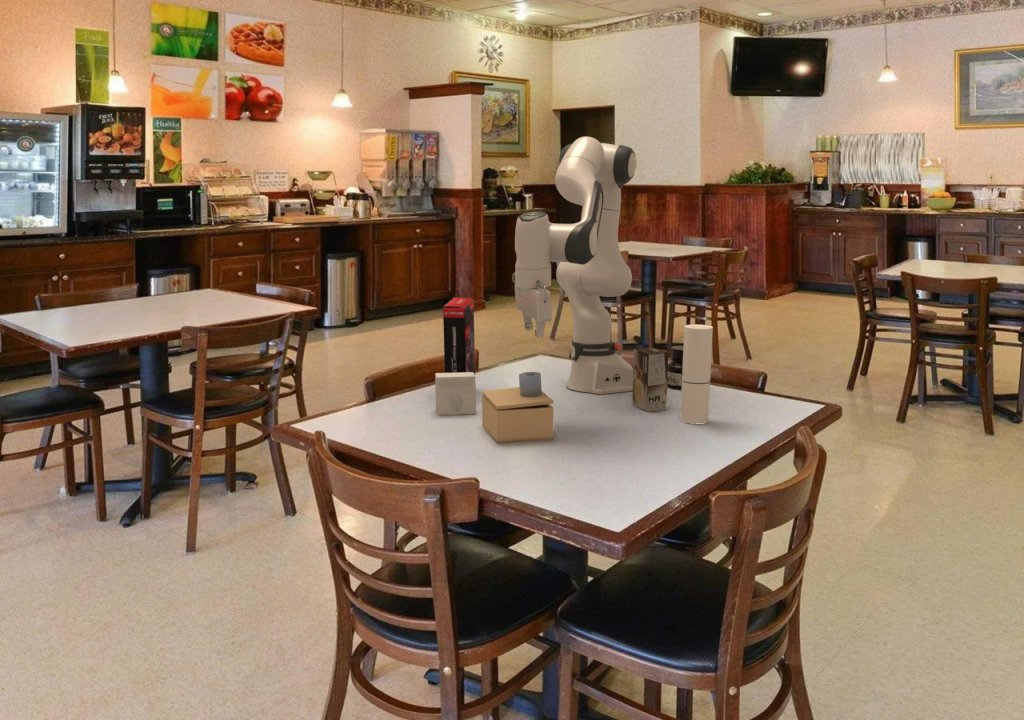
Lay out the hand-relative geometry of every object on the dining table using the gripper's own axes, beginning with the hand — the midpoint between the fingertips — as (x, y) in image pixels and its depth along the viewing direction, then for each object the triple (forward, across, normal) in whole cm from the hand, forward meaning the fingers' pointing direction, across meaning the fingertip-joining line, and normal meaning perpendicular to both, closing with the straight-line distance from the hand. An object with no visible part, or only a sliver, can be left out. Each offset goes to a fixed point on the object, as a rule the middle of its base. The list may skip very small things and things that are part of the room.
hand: (534, 333), depth 235 cm
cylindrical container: (+25, -6, -42) cm, 49 cm away
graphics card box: (+24, +36, +12) cm, 45 cm away
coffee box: (+25, +10, -36) cm, 45 cm away
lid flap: (+15, -6, +6) cm, 17 cm away
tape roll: (+14, -6, +3) cm, 15 cm away
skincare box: (+24, +17, +17) cm, 34 cm away
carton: (+24, -6, +6) cm, 25 cm away
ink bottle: (+26, +31, -55) cm, 68 cm away
